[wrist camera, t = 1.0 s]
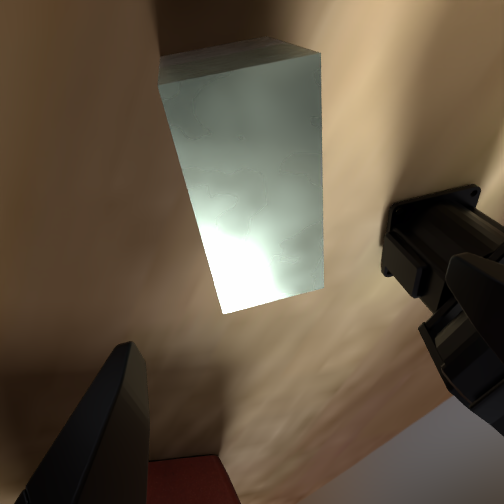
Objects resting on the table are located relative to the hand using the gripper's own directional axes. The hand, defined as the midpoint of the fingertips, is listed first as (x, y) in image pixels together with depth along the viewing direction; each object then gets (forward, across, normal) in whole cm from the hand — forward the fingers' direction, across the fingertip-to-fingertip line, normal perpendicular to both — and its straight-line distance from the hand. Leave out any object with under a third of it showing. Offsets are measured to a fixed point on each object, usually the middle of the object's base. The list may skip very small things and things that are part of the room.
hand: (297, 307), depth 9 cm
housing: (+12, 0, 0) cm, 12 cm away
